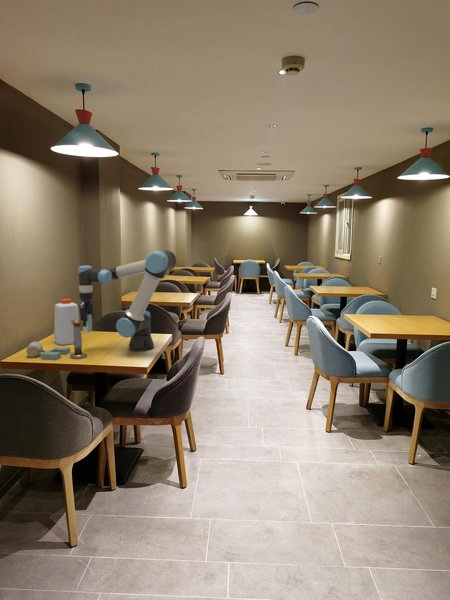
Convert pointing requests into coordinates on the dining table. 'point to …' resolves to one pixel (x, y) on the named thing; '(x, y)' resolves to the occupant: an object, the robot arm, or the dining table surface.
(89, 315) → the peg
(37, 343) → the ceramic mug
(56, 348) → the teal z-shaped block
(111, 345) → the dining table surface
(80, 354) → the bobbin
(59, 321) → the plastic bottle
